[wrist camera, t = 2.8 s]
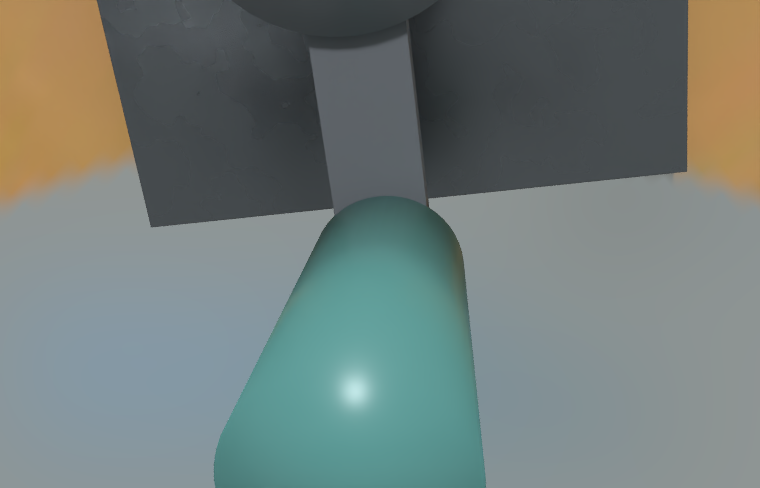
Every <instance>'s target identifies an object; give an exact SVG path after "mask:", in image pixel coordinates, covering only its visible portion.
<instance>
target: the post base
mask: <svg viewBox="0 0 760 488" xmlns="http://www.w3.org/2000/svg"><path fill="white" fill-rule="evenodd" d="M97 3H98V7H99V11H100V15H101V20H102V24H103V28H104V32H105V36H106V40H107V45H108V49H109V53H110V57H111V61H112V66H113V70H114V74H115V78H116V82H117V87H118V91H119V95H120V99H121V103H122V107H123V112H124V116H125V120H126V124H127V128H128V133H129V137H130V141H131V145H132V149H133V154H134V158H135V162H136V166H137V170H138V174H139V179H140V183H141V186H142V191H143V195H144V199H145V203H146V208H147V212H148V216H149V221H150V225H151V227H159V226H168V225H177V224H188V223H197V222H206V221H217V220H226V219H236V218H245V217H254V216H264V215H274V214H284V213H293V212H303V211H313V210H322V209H332V208H333V201H332V195H331V188H330V182H329V175H328V169H327V162H326V156H325V149H324V143H323V136H322V130H321V123H320V117H319V110H318V104H317V97H316V91H315V84H314V78H313V71H312V65H311V58H310V52H309V45H308V39H307V34H302V33H298V32H293V31H289V30H286V29H283V28H281V27H278V26H275V25H272V24H269V23H267V22H265V21H264V20H262V19H260V18H258V17H256V16H254V15H252V14H250V13H248V12H247V11H245V10H244V9H243V8H241V7H240V6H238V5H237V4H235V3H234V2H232V1H231V0H97ZM408 21H409V30H410V39H411V48H412V57H413V66H414V75H415V84H416V93H417V102H418V111H419V121H420V130H421V139H422V148H423V157H424V166H425V175H426V184H427V193H428V198H436V197H447V196H456V195H466V194H476V193H485V192H495V191H505V190H514V189H523V188H533V187H542V186H553V185H561V184H571V183H581V182H591V181H601V180H610V179H620V178H629V177H639V176H649V175H658V174H668V173H677V172H687V76H688V0H438V1H437V2H435V3H434V4H432V5H431V6H429V7H428V8H427V9H425V10H424V11H422V12H421V13H419V14H417V15H415V16H413V17H411V18H410V19H408Z"/></svg>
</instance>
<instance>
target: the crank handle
mask: <svg viewBox="0 0 760 488" xmlns="http://www.w3.org/2000/svg"><path fill="white" fill-rule="evenodd" d="M231 1H232V2H234V3H235V4H237V5H238V6H240V7H241V8H243V9H244V10H245V11H247V12H248V13H250V14H252V15H254V16H256V17H258V18H260V19H262V20H264V21H265V22H267V23H269V24H272V25H275V26H278V27H281V28H283V29H286V30H289V31H293V32H298V33H302V34H307V39H308V45H309V52H310V58H311V65H312V71H313V78H314V84H315V91H316V97H317V104H318V110H319V117H320V123H321V130H322V136H323V143H324V149H325V156H326V162H327V169H328V175H329V182H330V188H331V195H332V201H333V208H334V214H335V216H334V217H333V218H332V219H331V220H330V221H329V223H328V224H327V225H326V227H325V228H324V230H323V231H322V233H321V235H320V237H319V239H318V241H317V243H316V245H315V247H314V249H313V251H312V253H311V255H310V257H309V259H308V261H307V263H306V265H305V267H304V269H303V271H302V273H301V275H300V277H299V279H298V281H297V283H296V285H295V288H294V289H293V291H292V293H291V295H290V297H289V299H288V301H287V303H286V305H285V307H284V309H283V311H282V313H281V315H280V317H279V320H278V321H277V323H276V325H275V327H274V329H273V332H272V333H271V335H270V338H269V340H268V341H267V344H266V345H265V347H264V350H263V352H262V353H261V356H260V357H259V360H258V362H257V364H256V366H255V368H254V370H253V372H252V374H251V376H250V378H249V380H248V382H247V384H246V386H245V388H244V390H243V392H242V394H241V396H240V398H239V400H238V402H237V404H236V406H235V408H234V410H233V412H232V414H231V416H230V418H229V420H228V422H227V424H226V426H225V428H224V430H223V432H222V434H221V436H220V439H219V442H218V446H217V449H216V454H215V462H214V481H215V488H486V479H485V468H484V459H483V449H482V439H481V430H480V419H479V410H478V400H477V389H476V380H475V371H474V360H473V350H472V340H471V332H470V331H471V330H470V321H469V311H468V302H467V293H466V292H467V291H466V282H465V271H464V262H463V256H462V251H461V248H460V245H459V242H458V240H457V238H456V236H455V234H454V232H453V231H452V229H451V228H450V226H449V225H448V224H447V223H446V222H445V221H444V219H443V218H441V217H440V216H439V215H438V214H437V213H436V212H434V211H433V210H431V209H430V208H429V202H428V193H427V184H426V175H425V166H424V157H423V148H422V139H421V130H420V121H419V111H418V102H417V93H416V84H415V75H414V66H413V57H412V48H411V39H410V30H409V21H408V19H410V18H411V17H413V16H415V15H417V14H419V13H421V12H422V11H424V10H425V9H427V8H428V7H429V6H431V5H432V4H434V3H435V2H437V1H438V0H231Z"/></svg>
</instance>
